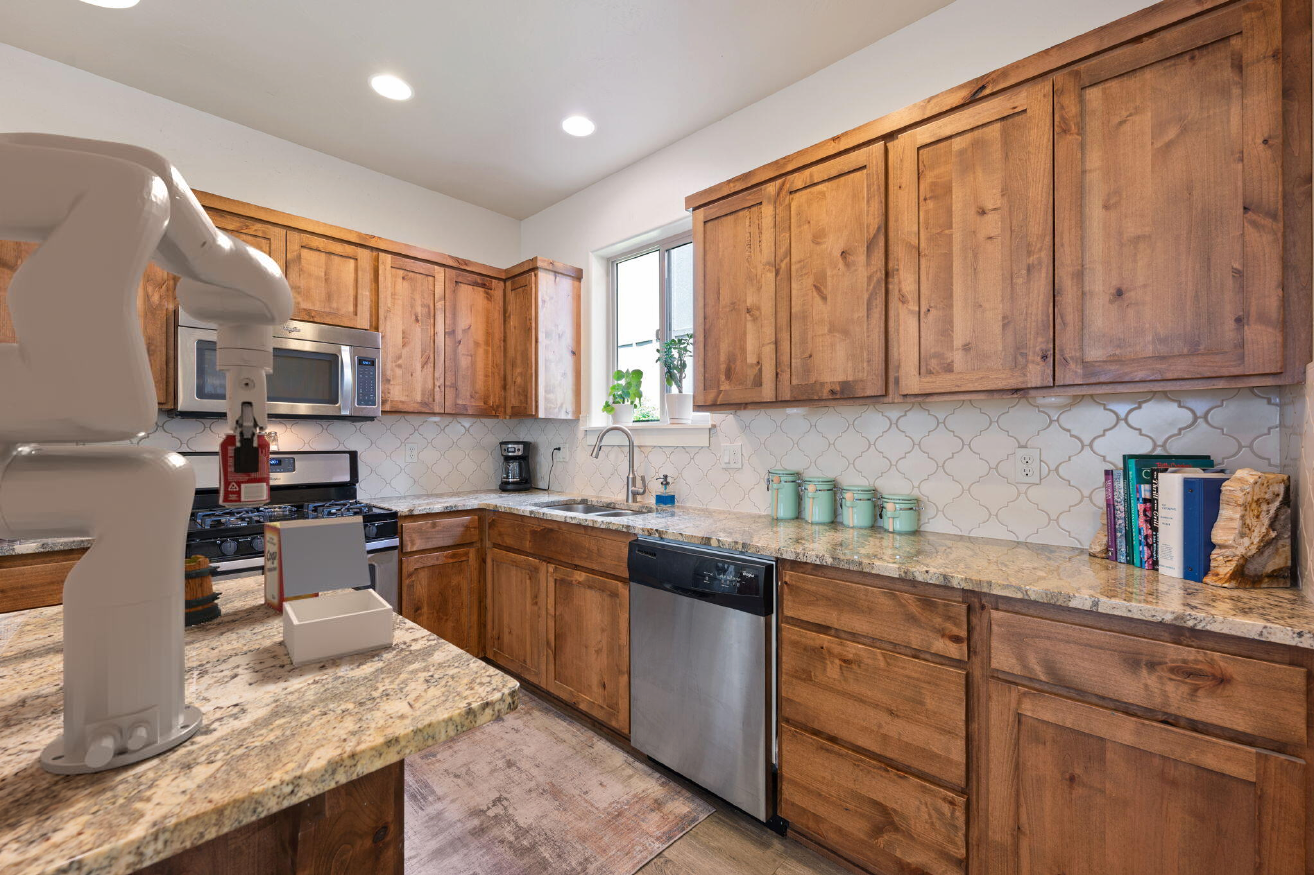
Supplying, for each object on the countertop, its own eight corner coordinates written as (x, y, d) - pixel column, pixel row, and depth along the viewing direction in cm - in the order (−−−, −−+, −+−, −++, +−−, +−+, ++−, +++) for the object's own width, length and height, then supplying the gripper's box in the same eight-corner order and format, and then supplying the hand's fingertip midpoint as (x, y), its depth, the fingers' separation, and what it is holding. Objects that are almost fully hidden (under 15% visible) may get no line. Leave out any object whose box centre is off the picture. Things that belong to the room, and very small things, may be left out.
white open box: (392, 646, 89) (392, 607, 89) (294, 667, 81) (294, 624, 81) (371, 623, 100) (371, 588, 100) (283, 639, 92) (283, 602, 92)
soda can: (274, 506, 94) (274, 433, 94) (223, 509, 89) (223, 432, 89) (263, 503, 99) (264, 433, 99) (214, 506, 94) (215, 433, 94)
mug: (214, 607, 109) (214, 547, 109) (230, 618, 102) (230, 554, 102) (121, 625, 99) (121, 558, 99) (133, 638, 92) (133, 567, 92)
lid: (362, 515, 105) (361, 516, 105) (279, 521, 97) (279, 523, 97) (370, 583, 99) (370, 584, 100) (284, 596, 92) (284, 597, 92)
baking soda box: (264, 603, 112) (264, 521, 112) (301, 596, 117) (301, 517, 117) (279, 613, 105) (279, 526, 105) (318, 605, 110) (318, 522, 110)
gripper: (278, 359, 90) (277, 473, 90) (267, 370, 103) (267, 469, 103) (217, 354, 85) (217, 475, 85) (215, 366, 99) (214, 470, 98)
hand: (244, 471), depth 94 cm, fingers closed on soda can, 6 cm apart
